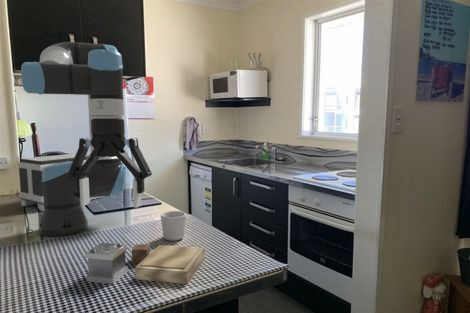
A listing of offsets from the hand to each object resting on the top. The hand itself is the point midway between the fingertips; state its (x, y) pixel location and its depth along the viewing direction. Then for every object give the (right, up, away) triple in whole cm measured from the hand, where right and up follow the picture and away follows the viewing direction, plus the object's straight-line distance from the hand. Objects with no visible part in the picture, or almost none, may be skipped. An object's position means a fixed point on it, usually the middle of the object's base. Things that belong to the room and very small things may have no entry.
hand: (111, 205), depth 85 cm
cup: (+10, -14, +29) cm, 34 cm away
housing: (-1, -17, +1) cm, 17 cm away
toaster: (-48, -9, +78) cm, 92 cm away
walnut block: (+5, -16, +10) cm, 20 cm away
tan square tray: (+14, -17, +5) cm, 22 cm away
